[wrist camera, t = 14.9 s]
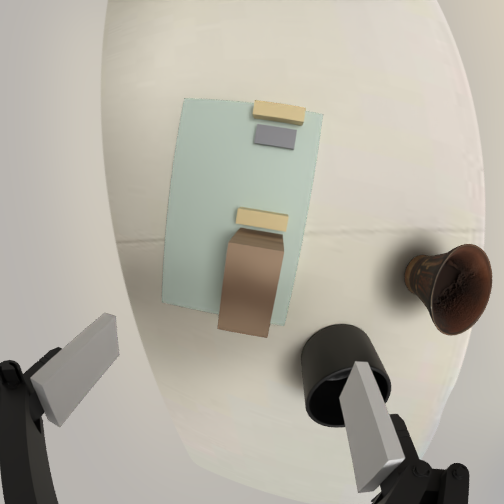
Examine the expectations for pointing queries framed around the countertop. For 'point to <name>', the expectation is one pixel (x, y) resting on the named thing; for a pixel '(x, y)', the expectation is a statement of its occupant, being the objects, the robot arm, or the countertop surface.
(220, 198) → the wall board
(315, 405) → the mug
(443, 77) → the countertop surface
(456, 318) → the cup
